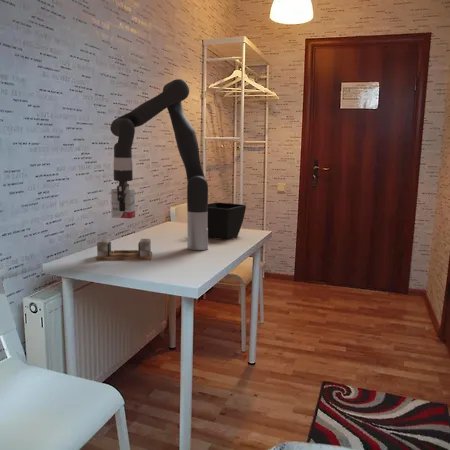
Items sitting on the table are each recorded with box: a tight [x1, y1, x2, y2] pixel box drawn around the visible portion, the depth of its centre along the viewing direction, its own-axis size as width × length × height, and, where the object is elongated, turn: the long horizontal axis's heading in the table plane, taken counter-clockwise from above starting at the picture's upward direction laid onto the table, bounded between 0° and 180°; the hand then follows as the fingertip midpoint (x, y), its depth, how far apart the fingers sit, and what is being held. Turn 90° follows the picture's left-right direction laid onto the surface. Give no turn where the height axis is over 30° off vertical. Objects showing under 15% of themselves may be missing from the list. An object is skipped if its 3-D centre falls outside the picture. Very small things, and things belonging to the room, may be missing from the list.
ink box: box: [110, 188, 136, 219], centre depth 182 cm, size 9×5×12 cm, turn 75°
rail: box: [95, 238, 153, 262], centre depth 185 cm, size 22×10×7 cm, turn 96°
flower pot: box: [208, 201, 247, 241], centre depth 232 cm, size 19×19×17 cm
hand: (123, 210), depth 183 cm, fingers closed on ink box, 5 cm apart
